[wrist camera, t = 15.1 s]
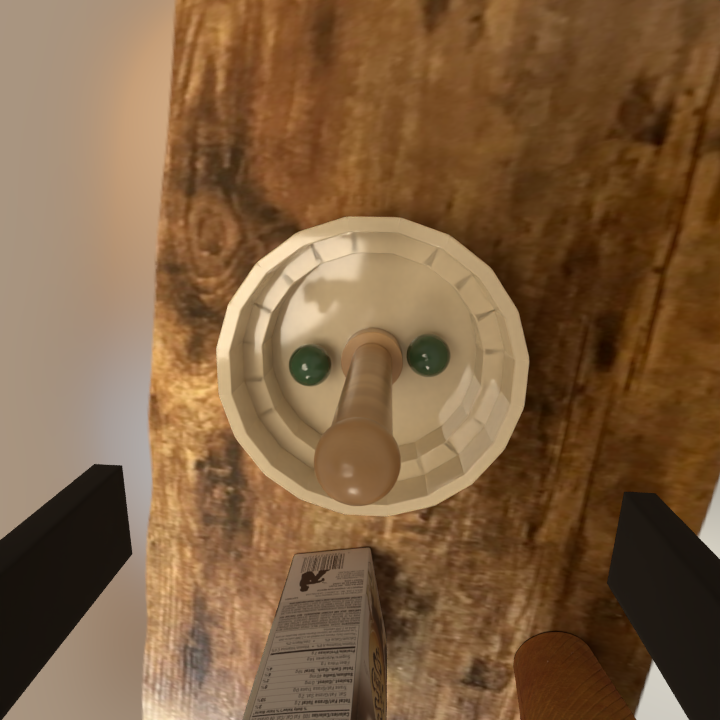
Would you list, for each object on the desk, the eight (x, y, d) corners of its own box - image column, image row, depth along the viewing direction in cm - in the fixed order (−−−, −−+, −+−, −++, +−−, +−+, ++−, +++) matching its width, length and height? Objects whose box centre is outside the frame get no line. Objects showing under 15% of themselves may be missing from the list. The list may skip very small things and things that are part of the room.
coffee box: (390, 642, 40) (389, 907, 24) (312, 648, 40) (262, 911, 25) (372, 543, 38) (359, 766, 22) (290, 552, 38) (220, 774, 23)
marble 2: (427, 332, 33) (405, 325, 31) (463, 342, 32) (442, 336, 29) (415, 371, 34) (392, 368, 31) (451, 384, 32) (428, 381, 30)
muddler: (343, 326, 33) (294, 424, 16) (403, 328, 33) (416, 429, 16) (342, 383, 34) (296, 531, 17) (401, 385, 34) (411, 537, 17)
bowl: (241, 216, 32) (207, 213, 26) (516, 221, 31) (545, 219, 25) (251, 464, 36) (224, 508, 31) (492, 475, 36) (511, 523, 30)
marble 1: (288, 334, 32) (294, 357, 30) (330, 337, 33) (339, 359, 31) (283, 370, 34) (289, 394, 31) (323, 372, 34) (331, 395, 32)
